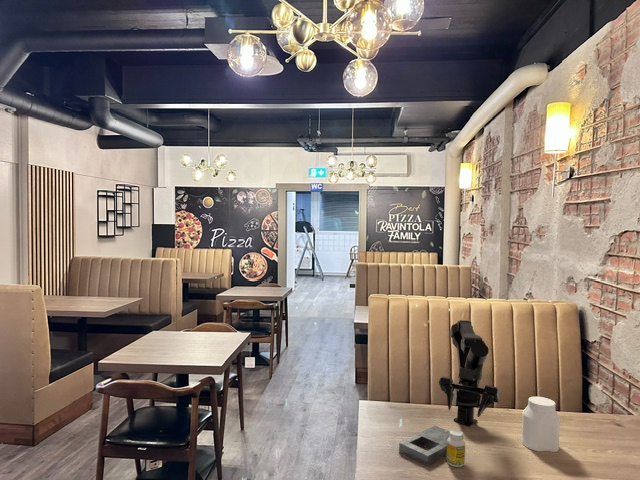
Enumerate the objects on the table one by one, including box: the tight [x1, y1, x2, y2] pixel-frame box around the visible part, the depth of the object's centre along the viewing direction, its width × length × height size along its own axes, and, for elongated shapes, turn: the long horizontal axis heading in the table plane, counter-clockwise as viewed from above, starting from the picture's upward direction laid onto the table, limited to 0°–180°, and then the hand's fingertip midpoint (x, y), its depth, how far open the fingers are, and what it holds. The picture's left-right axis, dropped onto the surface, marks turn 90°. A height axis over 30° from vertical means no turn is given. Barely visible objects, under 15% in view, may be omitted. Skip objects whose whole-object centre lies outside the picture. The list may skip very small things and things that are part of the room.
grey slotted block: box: [398, 425, 451, 466], centre depth 151 cm, size 20×11×3 cm, turn 132°
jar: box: [520, 396, 561, 453], centre depth 155 cm, size 12×10×15 cm
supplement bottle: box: [446, 429, 466, 468], centre depth 142 cm, size 5×5×10 cm
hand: (463, 413), depth 148 cm, fingers open, 9 cm apart
